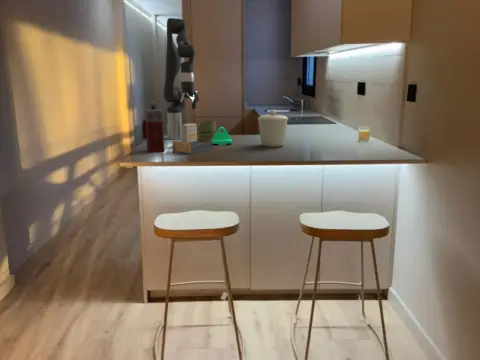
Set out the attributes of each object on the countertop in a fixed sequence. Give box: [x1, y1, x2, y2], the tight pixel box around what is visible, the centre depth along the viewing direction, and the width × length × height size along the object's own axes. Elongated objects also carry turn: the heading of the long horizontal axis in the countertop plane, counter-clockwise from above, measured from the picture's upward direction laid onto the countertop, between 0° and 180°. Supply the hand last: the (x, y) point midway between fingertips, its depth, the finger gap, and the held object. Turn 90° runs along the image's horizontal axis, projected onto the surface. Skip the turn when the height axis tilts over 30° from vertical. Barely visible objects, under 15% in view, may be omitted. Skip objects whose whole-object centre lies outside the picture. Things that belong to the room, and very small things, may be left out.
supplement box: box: [181, 122, 198, 142], centre depth 273 cm, size 8×5×13 cm, turn 141°
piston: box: [197, 120, 217, 143], centre depth 294 cm, size 11×12×11 cm
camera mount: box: [211, 126, 233, 146], centre depth 279 cm, size 12×8×10 cm, turn 95°
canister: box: [257, 109, 289, 148], centre depth 269 cm, size 18×18×21 cm
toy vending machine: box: [141, 100, 165, 154], centre depth 254 cm, size 9×11×28 cm
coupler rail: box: [172, 140, 214, 155], centre depth 257 cm, size 12×20×6 cm, turn 143°
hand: (188, 108), depth 269 cm, fingers open, 8 cm apart
